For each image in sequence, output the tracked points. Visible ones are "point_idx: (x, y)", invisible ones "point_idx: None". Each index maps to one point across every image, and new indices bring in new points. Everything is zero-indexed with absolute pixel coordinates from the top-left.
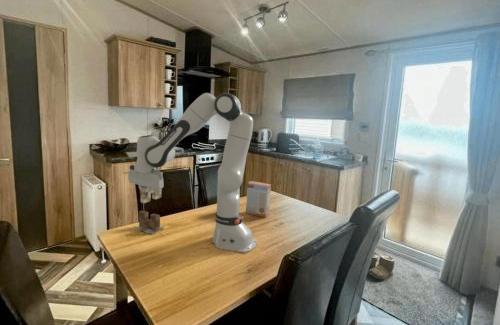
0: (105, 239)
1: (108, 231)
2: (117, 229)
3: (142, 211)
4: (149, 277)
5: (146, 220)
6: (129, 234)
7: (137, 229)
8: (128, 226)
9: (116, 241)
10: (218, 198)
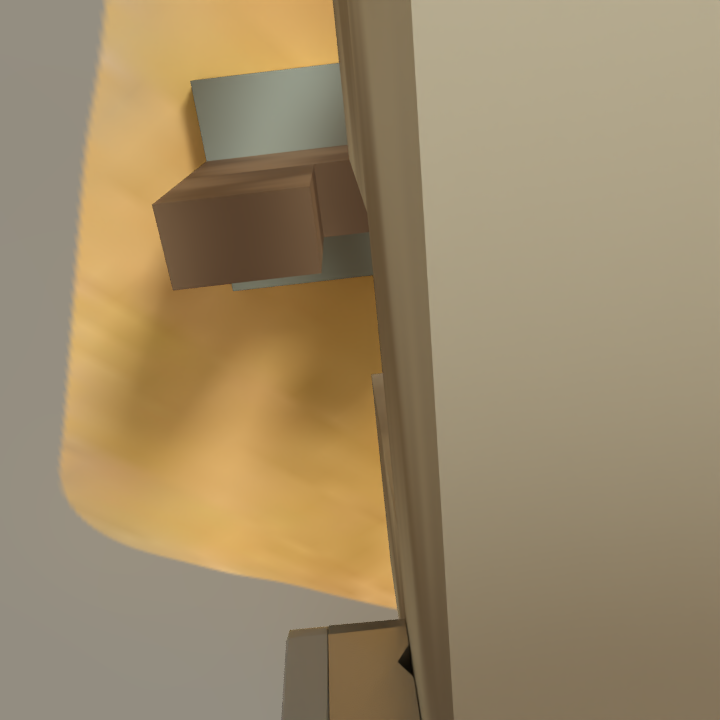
0: (231, 562)
1: (80, 472)
2: (94, 398)
3: (201, 238)
4: None
5: (332, 218)
6: (304, 393)
7: (276, 283)
8: (98, 279)
9: (340, 532)
10: None
